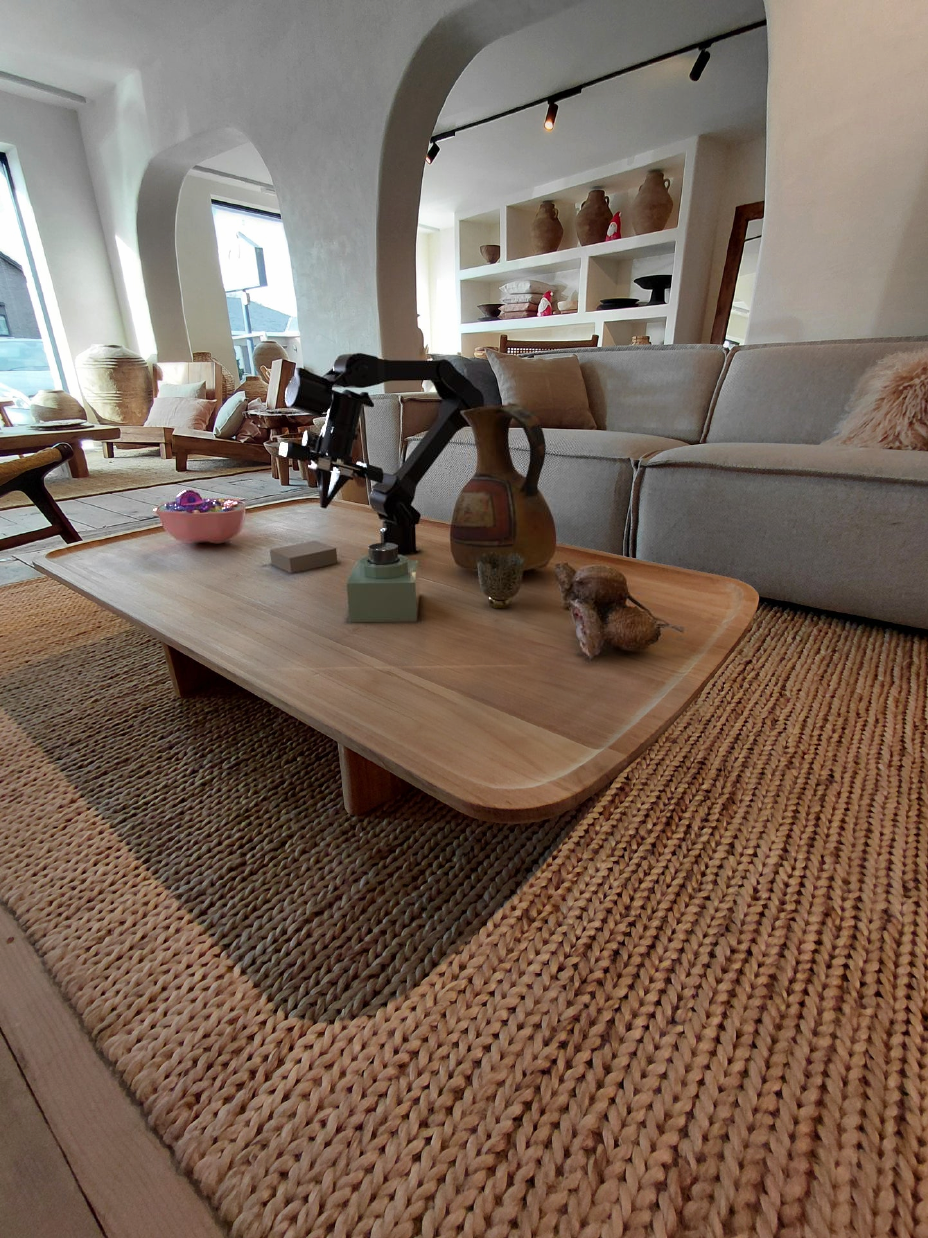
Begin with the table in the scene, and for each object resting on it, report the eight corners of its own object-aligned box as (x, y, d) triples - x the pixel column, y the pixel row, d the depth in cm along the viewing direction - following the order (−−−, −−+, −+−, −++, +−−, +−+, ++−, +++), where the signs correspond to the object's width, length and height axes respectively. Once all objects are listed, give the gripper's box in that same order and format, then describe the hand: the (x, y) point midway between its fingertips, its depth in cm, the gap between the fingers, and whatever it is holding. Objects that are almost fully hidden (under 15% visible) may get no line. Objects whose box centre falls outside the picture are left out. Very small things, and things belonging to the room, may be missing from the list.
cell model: (211, 558, 117) (201, 502, 112) (144, 546, 125) (132, 493, 120) (270, 538, 131) (264, 488, 126) (206, 529, 139) (198, 481, 134)
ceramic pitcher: (485, 549, 123) (488, 399, 111) (572, 566, 112) (585, 401, 100) (428, 572, 108) (424, 402, 96) (521, 594, 97) (530, 405, 86)
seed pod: (578, 567, 89) (528, 559, 77) (685, 563, 79) (647, 552, 67) (576, 653, 89) (526, 657, 77) (683, 659, 79) (645, 665, 67)
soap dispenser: (359, 596, 96) (355, 550, 93) (419, 596, 96) (417, 549, 93) (349, 622, 86) (345, 571, 83) (416, 621, 86) (414, 570, 83)
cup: (527, 600, 94) (529, 553, 91) (516, 617, 88) (518, 566, 85) (484, 595, 97) (484, 549, 93) (470, 611, 90) (470, 561, 87)
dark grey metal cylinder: (371, 558, 90) (370, 542, 89) (399, 558, 90) (398, 542, 89) (367, 567, 86) (366, 550, 85) (397, 566, 86) (396, 550, 85)
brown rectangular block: (316, 554, 119) (315, 540, 118) (337, 562, 114) (336, 548, 113) (271, 564, 113) (269, 549, 112) (291, 573, 107) (289, 558, 106)
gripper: (370, 437, 118) (353, 512, 121) (279, 407, 107) (263, 490, 110) (393, 440, 109) (374, 521, 112) (296, 408, 98) (278, 498, 101)
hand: (323, 507), depth 109 cm, fingers closed
